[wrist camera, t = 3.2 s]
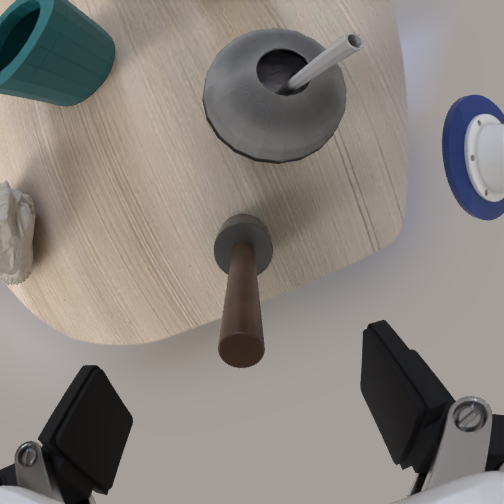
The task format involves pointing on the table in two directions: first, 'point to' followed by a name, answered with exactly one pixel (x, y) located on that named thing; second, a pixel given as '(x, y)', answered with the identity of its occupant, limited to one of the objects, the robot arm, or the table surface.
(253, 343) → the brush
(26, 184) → the table surface
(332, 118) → the beverage cup
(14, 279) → the fossil replica
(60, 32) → the jar
